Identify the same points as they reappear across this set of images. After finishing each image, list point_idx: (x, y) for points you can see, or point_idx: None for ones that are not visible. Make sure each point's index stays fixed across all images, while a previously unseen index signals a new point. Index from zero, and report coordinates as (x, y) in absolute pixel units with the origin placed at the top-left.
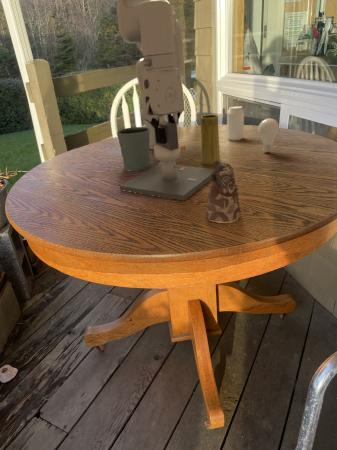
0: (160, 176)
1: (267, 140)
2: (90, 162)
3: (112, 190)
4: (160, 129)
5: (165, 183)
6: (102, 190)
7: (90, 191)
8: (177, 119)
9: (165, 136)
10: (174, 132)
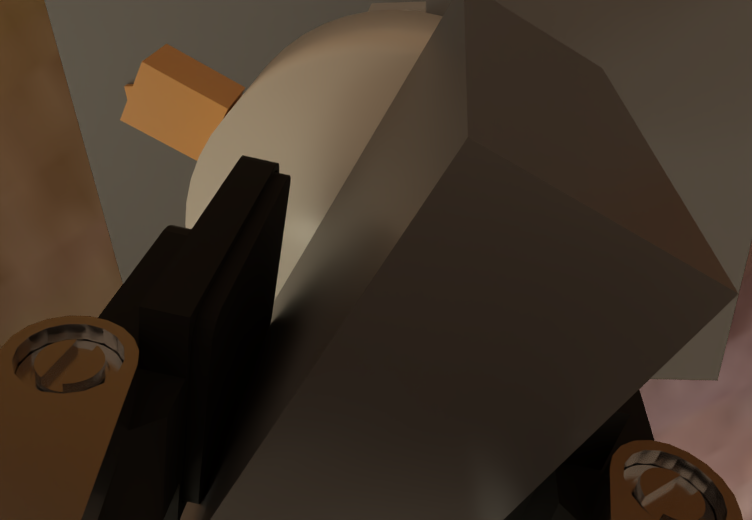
0: None
1: None
2: None
3: (703, 406)
4: (617, 449)
5: (578, 40)
6: (716, 461)
7: (748, 514)
8: (8, 387)
9: None
10: (543, 106)
